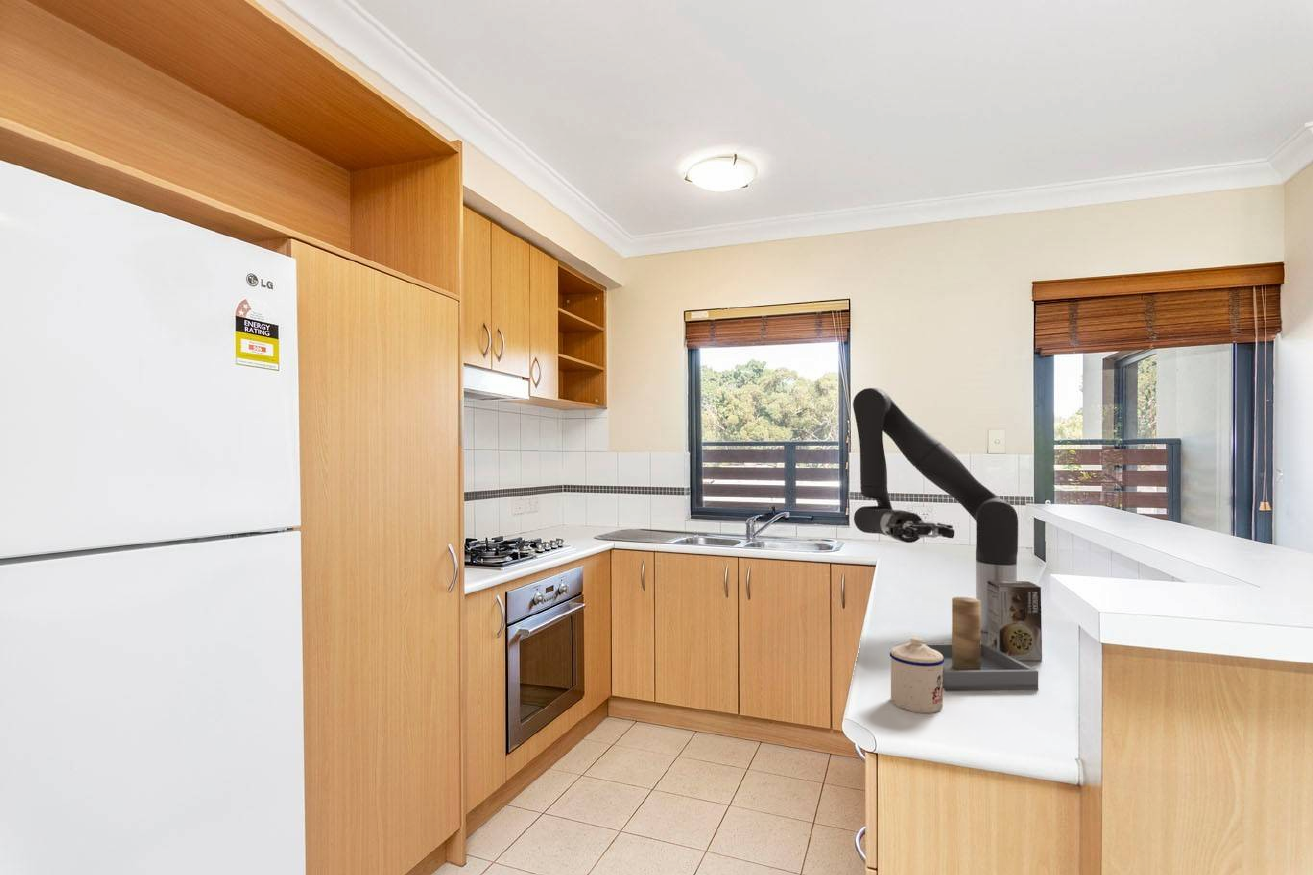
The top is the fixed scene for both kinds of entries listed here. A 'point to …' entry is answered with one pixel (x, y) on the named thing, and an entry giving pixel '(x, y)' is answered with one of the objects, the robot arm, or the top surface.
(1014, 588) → the coffee box
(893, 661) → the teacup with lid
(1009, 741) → the top surface
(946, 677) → the bin
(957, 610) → the oak cylinder
